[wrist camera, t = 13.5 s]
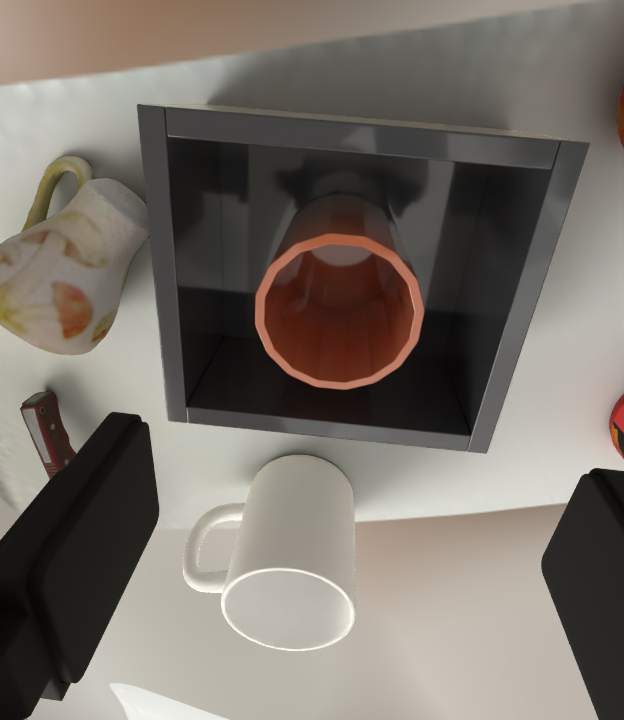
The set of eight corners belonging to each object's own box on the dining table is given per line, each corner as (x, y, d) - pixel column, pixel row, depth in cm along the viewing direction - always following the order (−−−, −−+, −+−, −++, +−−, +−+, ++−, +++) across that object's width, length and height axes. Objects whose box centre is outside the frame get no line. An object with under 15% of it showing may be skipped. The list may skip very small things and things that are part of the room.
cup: (354, 528, 39) (355, 654, 30) (214, 525, 40) (175, 645, 31) (354, 451, 35) (355, 570, 26) (198, 449, 36) (148, 563, 27)
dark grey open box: (511, 130, 24) (591, 142, 16) (451, 364, 31) (486, 454, 23) (205, 104, 24) (136, 103, 16) (213, 341, 31) (167, 421, 23)
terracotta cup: (410, 199, 25) (439, 242, 17) (390, 315, 28) (407, 396, 20) (285, 188, 25) (256, 226, 17) (280, 304, 28) (254, 381, 21)
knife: (134, 544, 42) (108, 596, 37) (120, 545, 42) (93, 596, 38) (54, 385, 34) (10, 427, 29) (37, 387, 34) (-9, 429, 30)
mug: (201, 214, 27) (125, 352, 22) (131, 272, 34) (60, 389, 29) (82, 112, 23) (-43, 252, 18) (29, 201, 30) (-73, 321, 25)
